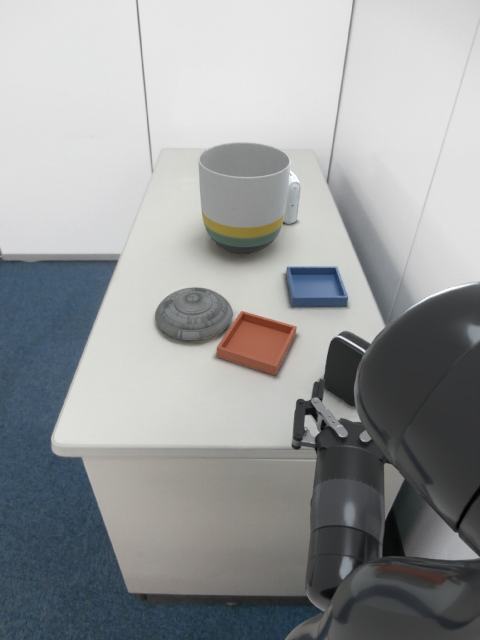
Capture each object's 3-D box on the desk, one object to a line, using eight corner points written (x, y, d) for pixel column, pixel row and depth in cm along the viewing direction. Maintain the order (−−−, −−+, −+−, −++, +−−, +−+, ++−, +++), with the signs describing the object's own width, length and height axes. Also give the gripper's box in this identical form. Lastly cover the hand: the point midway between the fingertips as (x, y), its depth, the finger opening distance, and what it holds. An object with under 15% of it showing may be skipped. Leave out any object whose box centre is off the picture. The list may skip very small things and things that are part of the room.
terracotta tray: (295, 335, 85) (296, 326, 84) (275, 375, 78) (276, 366, 76) (241, 319, 89) (241, 310, 87) (216, 356, 81) (216, 347, 79)
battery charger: (367, 395, 75) (383, 345, 67) (354, 408, 73) (369, 358, 65) (333, 373, 78) (344, 323, 71) (319, 384, 76) (329, 334, 69)
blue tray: (346, 306, 92) (348, 297, 91) (292, 306, 92) (293, 297, 90) (335, 274, 101) (337, 266, 99) (285, 275, 100) (286, 266, 99)
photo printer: (299, 222, 119) (304, 177, 111) (284, 225, 117) (288, 179, 109) (282, 205, 126) (286, 161, 118) (268, 208, 125) (271, 163, 117)
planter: (297, 257, 106) (308, 168, 92) (220, 276, 100) (219, 183, 86) (260, 220, 119) (265, 137, 105) (190, 234, 113) (185, 148, 99)
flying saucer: (141, 334, 85) (137, 311, 81) (176, 289, 96) (174, 267, 92) (215, 354, 81) (214, 331, 78) (243, 305, 92) (243, 283, 88)
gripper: (427, 498, 45) (416, 379, 57) (284, 467, 47) (303, 359, 59) (407, 533, 49) (401, 416, 62) (278, 503, 52) (297, 396, 64)
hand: (353, 388), depth 60 cm, fingers open, 8 cm apart
